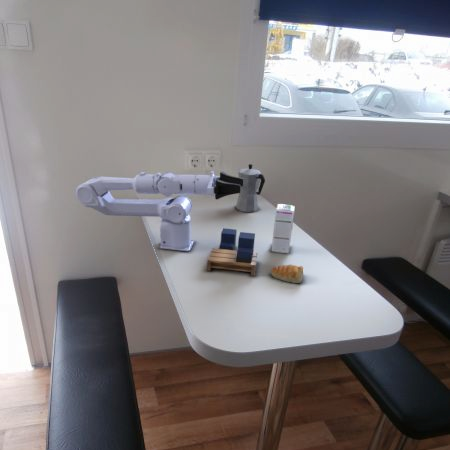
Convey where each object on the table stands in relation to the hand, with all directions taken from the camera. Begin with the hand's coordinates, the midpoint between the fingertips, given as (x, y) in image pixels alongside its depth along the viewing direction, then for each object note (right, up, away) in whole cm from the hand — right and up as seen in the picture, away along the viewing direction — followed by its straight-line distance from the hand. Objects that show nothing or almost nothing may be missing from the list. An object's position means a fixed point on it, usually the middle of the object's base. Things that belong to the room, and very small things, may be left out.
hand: (241, 185), depth 121 cm
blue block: (-4, -18, +11) cm, 22 cm away
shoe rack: (-3, -24, +2) cm, 24 cm away
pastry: (+14, -28, -2) cm, 31 cm away
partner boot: (+1, -21, 0) cm, 21 cm away
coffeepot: (+5, +4, +48) cm, 49 cm away
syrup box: (+13, -17, +15) cm, 26 cm away
